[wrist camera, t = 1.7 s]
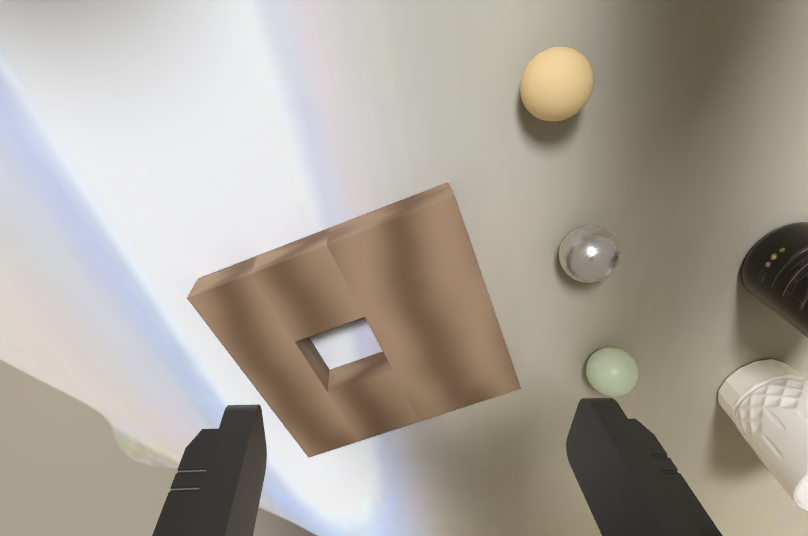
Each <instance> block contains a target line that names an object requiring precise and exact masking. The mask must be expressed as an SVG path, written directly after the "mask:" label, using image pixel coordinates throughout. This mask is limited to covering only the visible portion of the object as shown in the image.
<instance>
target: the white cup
mask: <svg viewBox="0 0 808 536" xmlns="http://www.w3.org/2000/svg"><path fill="white" fill-rule="evenodd" d="M718 403H719V404H720V406H721V407H722V408H723V409H724V411H725V412H726V413H727V414H728V415H729V417H730V418H731V419H732V421H733V422H734V424H735V425H736V426H737V429H738V431H739V432H740V433H741V434H742V436H743V437H744V439H745V440H746V441H747V443H748V444H749V445H750V446H751V447H752V448H753V450H754V452H755V453H756V455H757V456H758V457H759V459H760V460H761V461H762V462H763V463H764V465H765V466H766V467H767V468H768V470H769V471H770V472H771V473H772V475H773V476H774V477H775V479H776V480H777V481H778V482H779V484H780V485H781V486H782V487H783V489H784V490H785V491H786V493H787V494H788V495H789V496H790V498H791V499H792V500H793V501H794V503H795V504H796V505H797V506H798V507H799V508H801V509H803V510H806V511H808V381H807V380H806V379H805V378H803V377H802V376H801V375H800V374H798V373H797V372H796V371H795V370H793V369H792V368H791V367H790V366H788V365H787V364H786V363H784V362H780V361H777V360H773V359H768V360H761V361H755V362H752V363H750V364H748V365H745V366H743V367H741V368H739V369H738V370H736V371H735V372H734V373H733V374H731V375H730V376H729V377H728V378H727V379H726V380H725V381H724V383H723V384H722V386H721V388H720V389H719V391H718Z"/></svg>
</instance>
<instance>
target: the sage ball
mask: <svg viewBox="0 0 808 536" xmlns="http://www.w3.org/2000/svg"><path fill="white" fill-rule="evenodd" d="M586 375H587V378H588V381H589V382H590V384H591V385H592V387H593V388H594V389H595V390H597V391H598V392H600V393H601V394H603V395H606V396H611V397H619V396H623V395H626V394H628V393H629V392H631V391H632V390H633V389H634V387H635V386H636V384H637V382H638V378H639V370H638V366H637V364H636V362H635V360H634V359H633V358H632V356H631V355H629V354H628V353H627V352H625V351H624V350H621V349H619V348H614V347H606V348H602V349H599V350H597V351H596V352H594V353H593V354H592V355H591V356H590V358H589V359H588V362H587V365H586Z"/></svg>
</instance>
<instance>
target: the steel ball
mask: <svg viewBox="0 0 808 536" xmlns="http://www.w3.org/2000/svg"><path fill="white" fill-rule="evenodd" d="M559 260H560V263H561V266H562V268H563V270H564V271H565V272H566V273H567V274H568V275H569V276H570V277H572V278H573V279H575V280H577V281H580V282H585V283H594V282H599V281H601V280H604V279H606V278H607V277H609V276H610V275H611V274H612V273H613V272H614V271H615V269H616V268H617V266H618V264H619V261H620V247H619V244H618V242H617V240H616V239H615V237H614V236H613V235H612V234H611V233H610V232H608V231H607V230H605V229H603V228H601V227H597V226H582V227H579V228H577V229H575V230H573V231H571V232H570V233H569V234H568V235H567V236H566V237H565V238H564V239H563V241H562V243H561V245H560V249H559Z"/></svg>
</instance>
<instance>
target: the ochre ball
mask: <svg viewBox="0 0 808 536" xmlns="http://www.w3.org/2000/svg"><path fill="white" fill-rule="evenodd" d="M593 80H594V78H593V71H592V68H591V65H590V63H589V62H588V60H587V59H586V58H585V56H584V55H582V54H581V53H580V52H579V51H577V50H575V49H572V48H569V47H552V48H549V49H546V50H544V51H542V52H540V53H539V54H537V55H536V56H535V57H534V58H533V59H532V60H531V61H530V62H529V64H528V65H527V66H526V68H525V70H524V72H523V75H522V78H521V82H520V94H521V98H522V101H523V103H524V106H525V107H526V109H527V110H528V111H529V112H530V113H531V114H532V115H533V116H535V117H537V118H539V119H541V120H544V121H552V122H554V121H561V120H564V119H567V118H570V117H571V116H573V115H575V114H576V113H577V112H579V111H580V110H581V109H582V108H583V106H584V105H585V104H586V102H587V101H588V99H589V97H590V95H591V92H592V88H593Z"/></svg>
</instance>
